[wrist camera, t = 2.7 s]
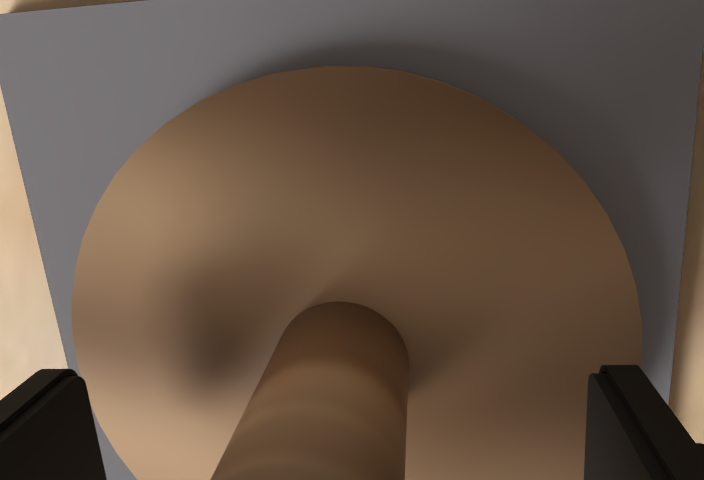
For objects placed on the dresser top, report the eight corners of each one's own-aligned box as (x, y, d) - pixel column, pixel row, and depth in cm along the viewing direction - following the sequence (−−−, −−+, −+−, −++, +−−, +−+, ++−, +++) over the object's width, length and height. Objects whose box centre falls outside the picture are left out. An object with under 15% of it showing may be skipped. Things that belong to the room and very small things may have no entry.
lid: (43, 88, 12) (-280, 117, 7) (644, 40, 11) (895, 22, 5) (145, 545, 16) (-9, 820, 10) (610, 558, 14) (737, 891, 9)
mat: (3, 17, 13) (-16, 15, 12) (697, -48, 11) (713, -53, 10) (130, 568, 17) (120, 585, 16) (639, 588, 15) (648, 609, 15)
